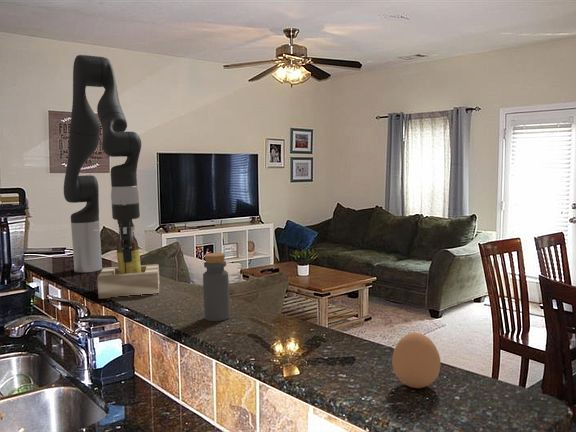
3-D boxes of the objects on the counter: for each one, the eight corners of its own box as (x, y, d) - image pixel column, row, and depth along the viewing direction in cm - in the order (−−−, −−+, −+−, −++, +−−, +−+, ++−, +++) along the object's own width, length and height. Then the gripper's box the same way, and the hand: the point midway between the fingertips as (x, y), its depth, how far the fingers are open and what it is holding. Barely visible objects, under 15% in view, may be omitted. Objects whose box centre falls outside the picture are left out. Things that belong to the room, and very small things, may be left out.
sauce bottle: (145, 283, 159) (141, 216, 157) (137, 288, 153) (133, 218, 150) (123, 283, 159) (119, 216, 157) (115, 288, 153) (110, 219, 151)
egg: (436, 399, 80) (436, 343, 79) (387, 392, 83) (386, 338, 82) (443, 380, 86) (443, 328, 85) (397, 374, 89) (397, 324, 88)
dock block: (104, 287, 161) (103, 267, 161) (159, 283, 164) (158, 264, 164) (98, 298, 147) (97, 277, 147) (158, 294, 151) (157, 272, 150)
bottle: (234, 315, 127) (231, 252, 126) (223, 322, 122) (220, 257, 120) (212, 313, 129) (209, 252, 128) (200, 320, 124) (197, 256, 122)
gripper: (114, 201, 160) (117, 256, 161) (108, 204, 146) (112, 265, 147) (140, 200, 161) (143, 255, 163) (137, 203, 147) (140, 263, 149)
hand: (128, 259), depth 155 cm, fingers closed on sauce bottle, 6 cm apart
